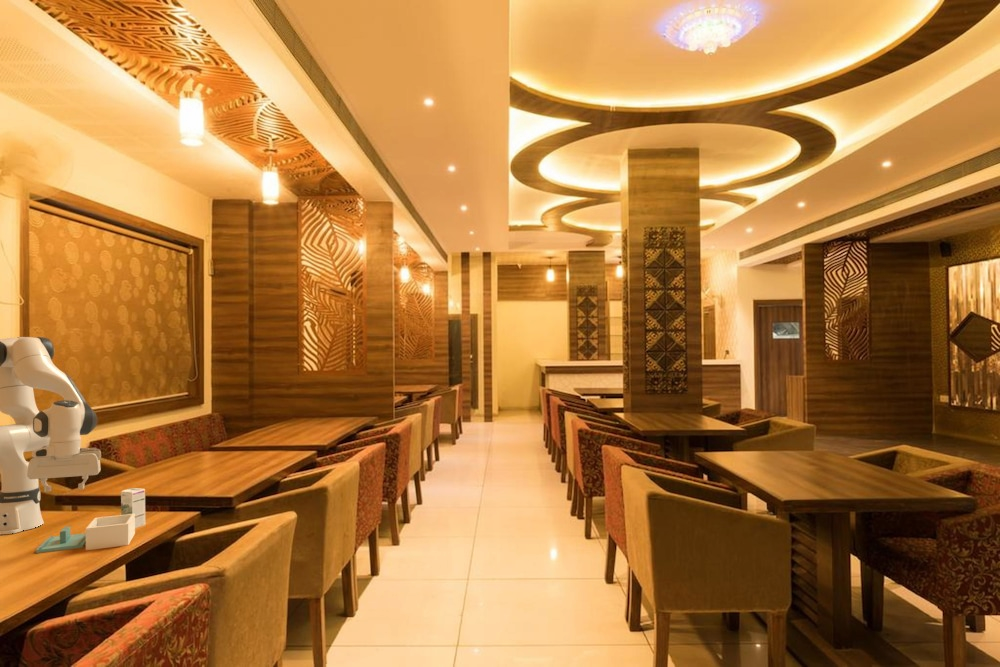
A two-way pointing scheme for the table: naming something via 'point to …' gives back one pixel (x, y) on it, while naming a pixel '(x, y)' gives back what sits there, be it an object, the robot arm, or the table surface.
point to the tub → (110, 531)
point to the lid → (63, 541)
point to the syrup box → (134, 504)
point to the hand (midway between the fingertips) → (64, 490)
